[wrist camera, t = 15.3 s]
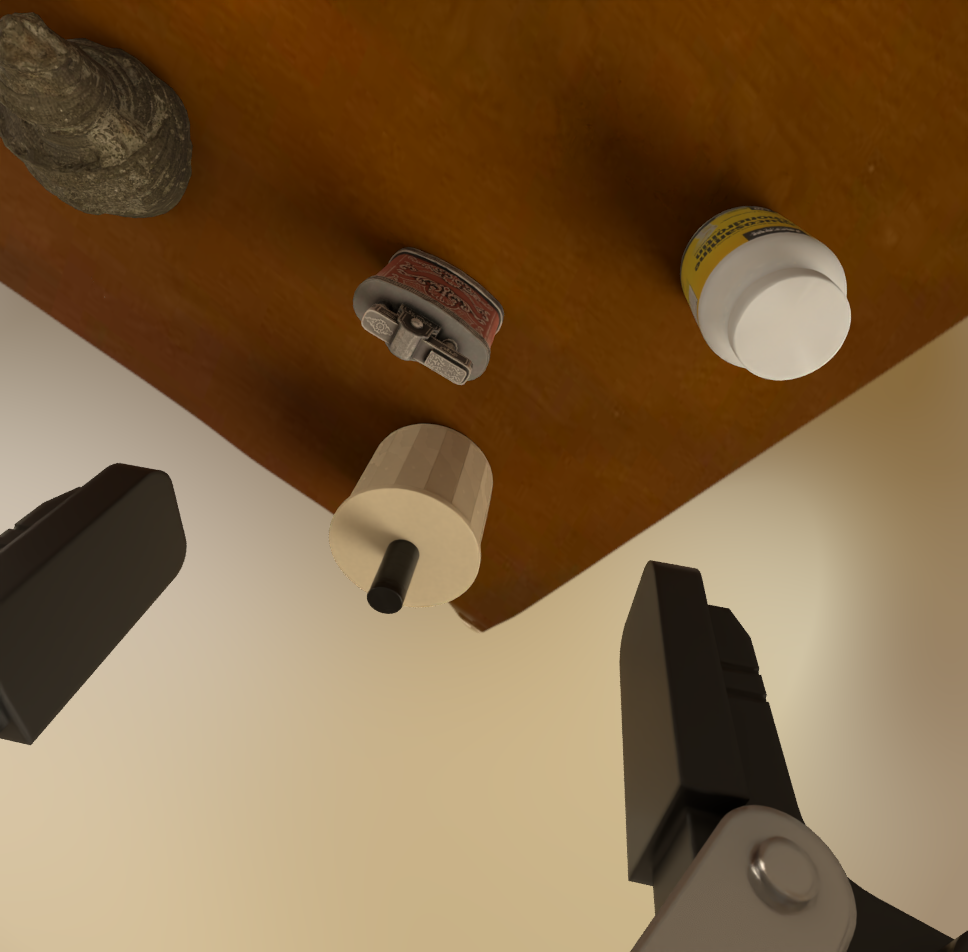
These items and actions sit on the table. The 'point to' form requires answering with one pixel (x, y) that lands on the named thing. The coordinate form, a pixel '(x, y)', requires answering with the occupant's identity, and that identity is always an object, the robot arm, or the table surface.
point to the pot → (435, 468)
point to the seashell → (91, 122)
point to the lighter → (430, 314)
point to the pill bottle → (765, 293)
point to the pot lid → (404, 547)
